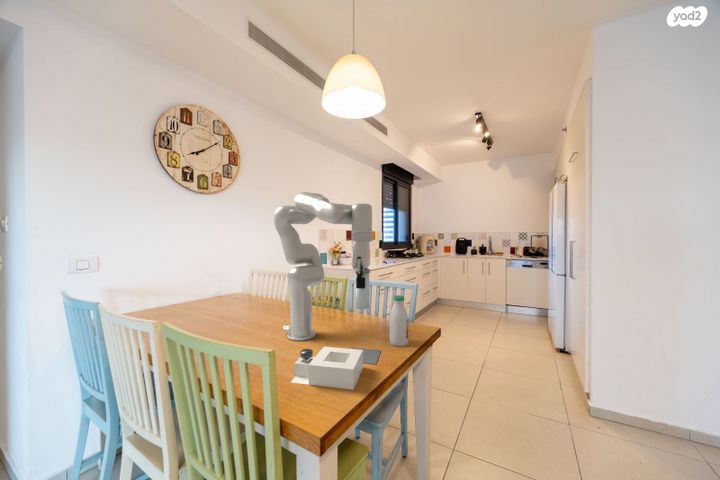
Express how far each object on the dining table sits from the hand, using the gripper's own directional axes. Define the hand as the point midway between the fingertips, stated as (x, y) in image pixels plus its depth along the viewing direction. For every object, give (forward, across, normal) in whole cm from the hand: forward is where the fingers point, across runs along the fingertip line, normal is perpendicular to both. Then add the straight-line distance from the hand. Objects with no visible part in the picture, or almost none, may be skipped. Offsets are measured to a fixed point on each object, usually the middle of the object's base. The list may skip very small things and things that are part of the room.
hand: (362, 286), depth 106 cm
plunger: (+26, +16, -16) cm, 34 cm away
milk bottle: (+27, -17, +12) cm, 34 cm away
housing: (+27, +16, -8) cm, 32 cm away
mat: (+27, 0, 0) cm, 27 cm away
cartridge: (+8, 0, 0) cm, 8 cm away
